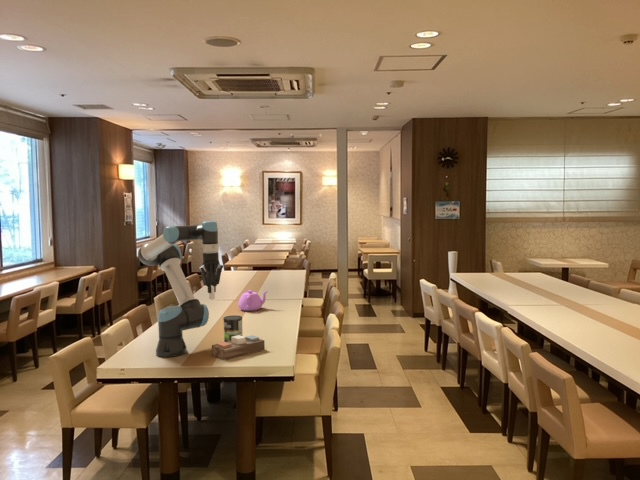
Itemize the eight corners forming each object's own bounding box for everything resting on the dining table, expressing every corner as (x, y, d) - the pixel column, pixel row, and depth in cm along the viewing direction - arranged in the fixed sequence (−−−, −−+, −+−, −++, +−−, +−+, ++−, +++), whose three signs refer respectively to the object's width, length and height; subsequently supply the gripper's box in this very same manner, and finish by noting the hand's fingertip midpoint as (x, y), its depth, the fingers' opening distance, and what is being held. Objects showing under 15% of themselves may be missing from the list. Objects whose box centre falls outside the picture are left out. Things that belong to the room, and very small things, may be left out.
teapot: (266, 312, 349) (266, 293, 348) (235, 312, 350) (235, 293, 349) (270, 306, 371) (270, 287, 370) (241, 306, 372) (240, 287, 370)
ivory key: (231, 342, 257) (231, 336, 257) (238, 340, 260) (238, 335, 260) (237, 344, 253) (237, 339, 253) (245, 343, 256) (245, 337, 256)
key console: (212, 354, 253) (211, 345, 253) (251, 345, 270) (251, 336, 269) (224, 360, 245) (224, 350, 244) (264, 349, 261) (264, 340, 260)
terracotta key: (217, 349, 252) (216, 343, 252) (224, 347, 255) (224, 341, 255) (223, 351, 247) (223, 345, 247) (231, 349, 250) (231, 344, 250)
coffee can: (231, 346, 268) (230, 320, 267) (220, 342, 275) (219, 317, 274) (246, 342, 275) (246, 317, 274) (235, 339, 282) (235, 314, 281)
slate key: (245, 342, 263) (245, 336, 263) (252, 340, 266) (252, 335, 266) (251, 344, 259) (251, 339, 259) (259, 343, 262) (258, 337, 262)
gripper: (202, 253, 243) (204, 302, 245) (225, 251, 252) (227, 298, 254) (195, 252, 248) (196, 300, 250) (217, 250, 257) (219, 296, 259)
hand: (212, 299), depth 252 cm, fingers closed
